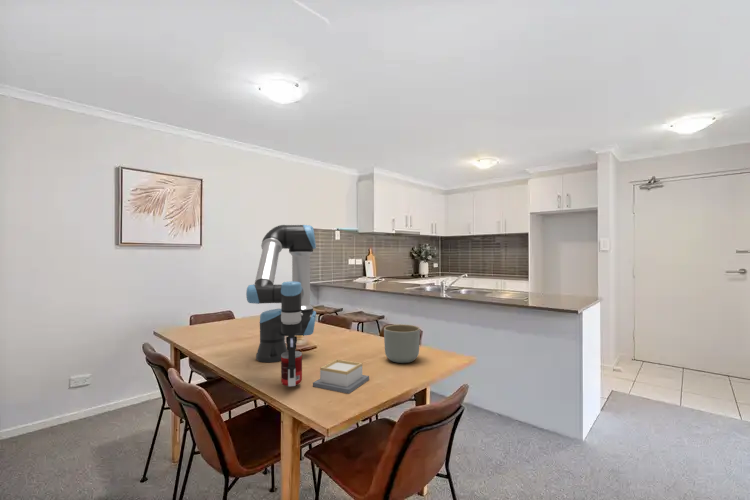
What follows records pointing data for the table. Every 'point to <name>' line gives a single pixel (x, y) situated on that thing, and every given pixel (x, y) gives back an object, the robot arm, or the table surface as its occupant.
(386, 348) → the planter
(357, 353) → the table surface
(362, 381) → the base
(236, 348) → the table surface
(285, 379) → the canned food
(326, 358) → the table surface
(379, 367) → the table surface
